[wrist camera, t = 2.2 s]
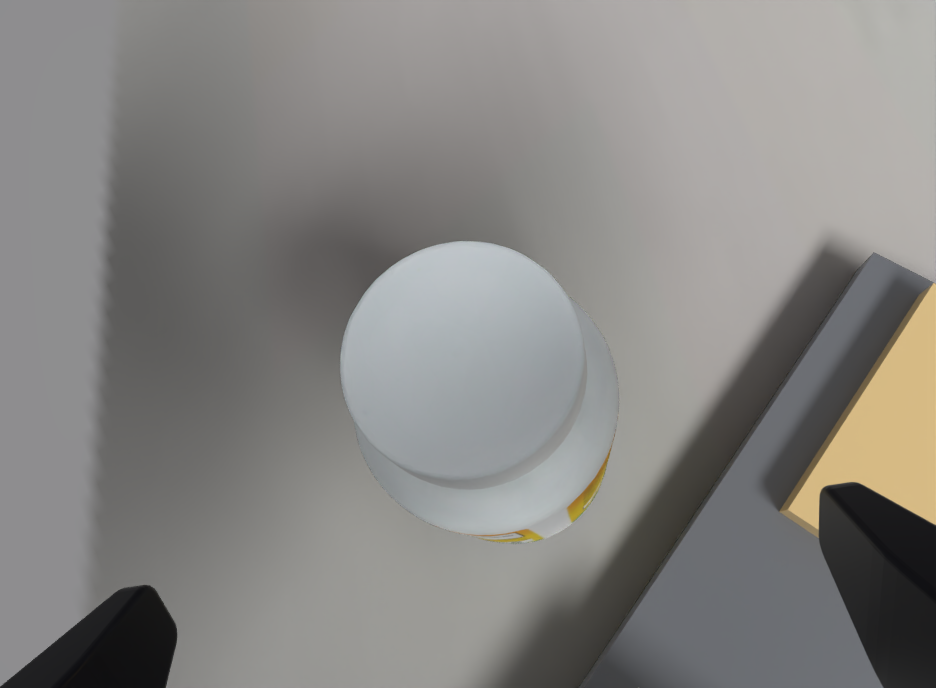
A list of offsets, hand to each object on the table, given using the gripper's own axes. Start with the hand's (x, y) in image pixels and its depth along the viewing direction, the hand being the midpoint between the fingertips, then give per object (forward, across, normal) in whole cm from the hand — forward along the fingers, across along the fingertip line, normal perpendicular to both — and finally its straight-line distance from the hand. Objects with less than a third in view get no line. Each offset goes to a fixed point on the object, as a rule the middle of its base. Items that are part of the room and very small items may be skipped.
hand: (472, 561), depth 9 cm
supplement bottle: (+10, 0, +5) cm, 11 cm away
